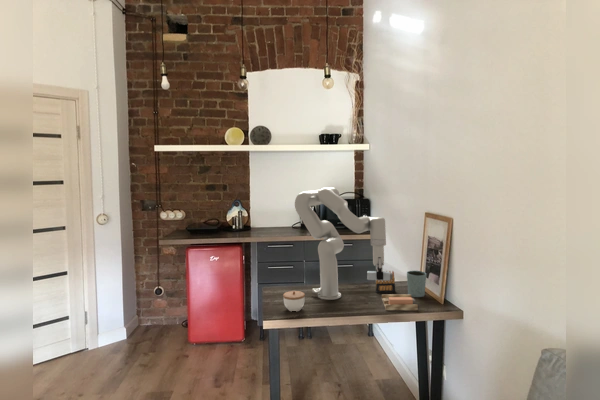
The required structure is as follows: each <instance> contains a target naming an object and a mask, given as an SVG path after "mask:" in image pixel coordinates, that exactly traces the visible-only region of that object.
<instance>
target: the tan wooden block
mask: <svg viewBox="0 0 600 400" xmlns="http://www.w3.org/2000/svg"><path fill="white" fill-rule="evenodd" d="M412 298H413V297H412V296H411V297H389V304H416V300H415V298H413V299H412Z"/></svg>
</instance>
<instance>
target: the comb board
mask: <svg viewBox="0 0 600 400" xmlns="http://www.w3.org/2000/svg"><path fill="white" fill-rule="evenodd" d="M389 297H411V298H412V299H414V297H412V296H411V294H408V293H407V294H404V293H403V294H393V293H392V294H388V293H386V294H381V301H382V304H383V306H384V308H385V311H419V309H418V307H419V305H418V303H417V304H416V303H415V304H389Z"/></svg>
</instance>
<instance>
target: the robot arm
mask: <svg viewBox="0 0 600 400" xmlns="http://www.w3.org/2000/svg"><path fill="white" fill-rule="evenodd" d="M320 205H324V206H325V207H327V208H328V209H329V210H330V211H332V212H333V214H336V215H337V217H338V219H339V220H340V222H341V223H342V224H343V225H344V226H345V227H346V228H348V229H349V230H350V231H352V232H353V233H356V234H361V233H364V232H367V231H368V232H369V231H370V233H369V234H370V235H369V236H370V237H369V238H370V246H371V247H372V264H373V266H374V267H375V268H376V269H375V271H376V274H377V280H383V271H384V269H383V266H384V265H385V247H384V246H386V245H387V237H386V236H387V235H386V233H387V231H386V220H385V219H386V218H385V217H381V216H373V217H371V216H366V215H365V216H360V217H358V216H357V215H355V214H354V213H353V212H352V211H350V209H349V207H348V206H349V205H348V201H347V200H345V199H344V198H343V197H341V195H340V191H339V190H338V189H337V188H335V187H334V186H333V187H332V186H330V187H322V188H321V189H316V190H315V189H314V190H305V191H301V192H299V193H298V195H296V197H295V200H294V209H295V211H296V213H297V215H298V216H299V218H300V219H301V221H302V222H303V224H304V226H305V227H306V229H307V230H308V232H309V234H310V235H311V237H312V238H313V239H314V240H320V239H322V240H321V241H320V242H319V244H318V246H317V254H318V259H319V276H320V277H319V278H320V279H319V280H320V282H319V283H320V287H318V288H312V289H311V290H312V293H314V294H317V298H319V299H321V300H327V301H331V300H332V301H333V300H338V299H340V298H341V297H342V293H341V292H339V279H338V278H339V273H338V272H339V270H338V259H337V256H336V254H340V253H341V252H342V251H343V250H344V247H345V246H344V245H345V243H344V240H343V239H342V237H341V235H340V234H339V231H338V230H337V229H336V227H335V226H334V224H333V223H332V222H330V221H328V220H325V219H324V220H321V219H320V217H319V216H318V214H317V213H316V212H315V210H313V209H312V208H311V207H312V206H320Z"/></svg>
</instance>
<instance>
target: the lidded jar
mask: <svg viewBox="0 0 600 400" xmlns="http://www.w3.org/2000/svg"><path fill="white" fill-rule="evenodd" d="M305 296H306V294H305V292H303V291H300V290H290V291H286V292H284V293H283V295H282V297H283V304H284V307H285V308H286V309H287V310H288V311H289V312H292V311H296V312H300V311H301V309H302V308H303V307H304V305H305V300H306V299H305Z"/></svg>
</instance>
